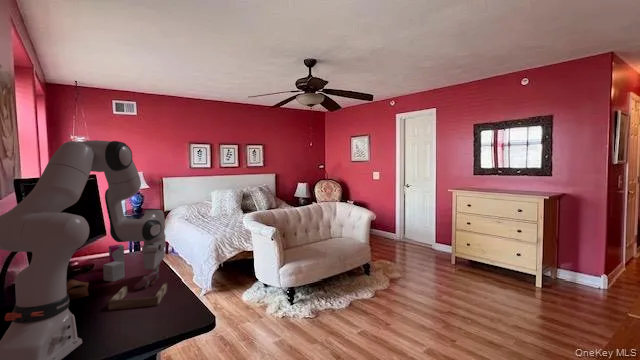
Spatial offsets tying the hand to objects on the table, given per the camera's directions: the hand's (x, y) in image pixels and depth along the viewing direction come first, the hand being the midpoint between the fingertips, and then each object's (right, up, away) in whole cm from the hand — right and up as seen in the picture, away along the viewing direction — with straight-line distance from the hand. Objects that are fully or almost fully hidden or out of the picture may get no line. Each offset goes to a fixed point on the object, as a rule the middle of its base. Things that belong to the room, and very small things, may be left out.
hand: (155, 273), depth 151 cm
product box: (-20, -3, +1) cm, 20 cm away
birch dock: (+5, -4, -23) cm, 24 cm away
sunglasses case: (-26, -4, -14) cm, 30 cm away
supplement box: (-29, -2, +17) cm, 33 cm away
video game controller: (+1, -3, -8) cm, 9 cm away
